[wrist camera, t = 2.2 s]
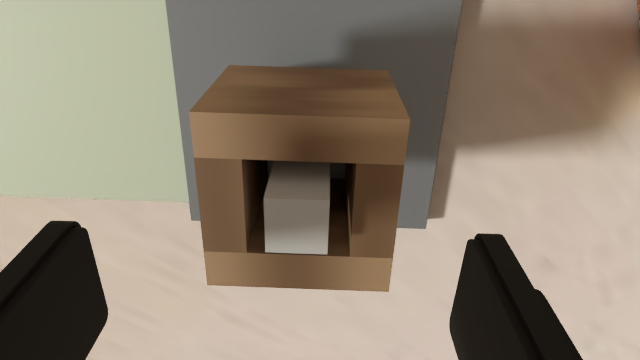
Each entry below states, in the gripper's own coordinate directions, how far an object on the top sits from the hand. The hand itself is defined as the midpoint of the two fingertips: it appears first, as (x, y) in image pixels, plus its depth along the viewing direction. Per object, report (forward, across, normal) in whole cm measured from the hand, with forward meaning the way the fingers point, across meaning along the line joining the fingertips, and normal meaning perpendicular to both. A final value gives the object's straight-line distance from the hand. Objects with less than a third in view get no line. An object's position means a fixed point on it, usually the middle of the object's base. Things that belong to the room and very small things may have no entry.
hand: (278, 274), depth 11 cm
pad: (+15, +14, -1) cm, 20 cm away
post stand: (+15, 0, +1) cm, 15 cm away
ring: (+10, 0, +1) cm, 10 cm away
